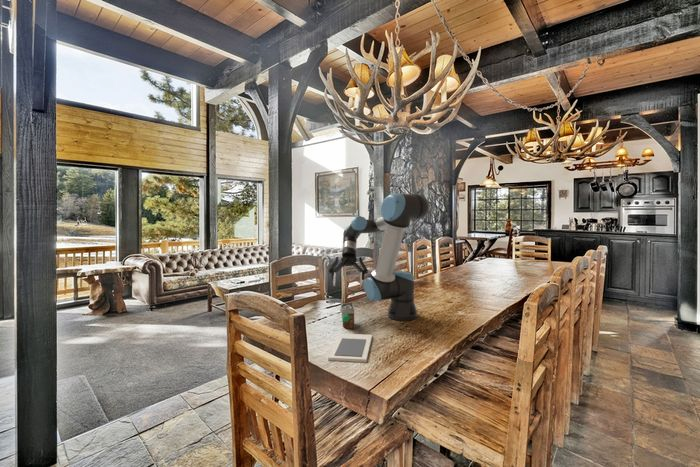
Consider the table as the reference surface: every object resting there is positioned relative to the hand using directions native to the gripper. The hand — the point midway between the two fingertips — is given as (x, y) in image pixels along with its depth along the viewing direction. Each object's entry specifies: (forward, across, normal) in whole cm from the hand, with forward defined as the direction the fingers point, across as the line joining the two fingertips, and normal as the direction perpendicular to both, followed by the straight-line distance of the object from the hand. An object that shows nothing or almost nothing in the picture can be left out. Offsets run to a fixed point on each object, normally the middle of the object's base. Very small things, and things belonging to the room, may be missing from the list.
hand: (347, 284), depth 166 cm
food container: (+20, 0, -4) cm, 21 cm away
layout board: (+37, -4, +13) cm, 40 cm away
